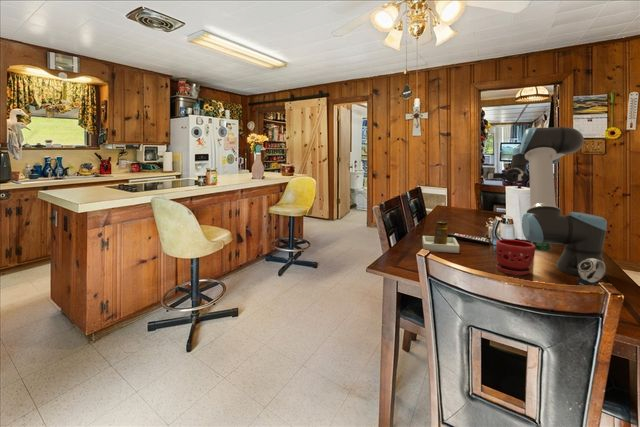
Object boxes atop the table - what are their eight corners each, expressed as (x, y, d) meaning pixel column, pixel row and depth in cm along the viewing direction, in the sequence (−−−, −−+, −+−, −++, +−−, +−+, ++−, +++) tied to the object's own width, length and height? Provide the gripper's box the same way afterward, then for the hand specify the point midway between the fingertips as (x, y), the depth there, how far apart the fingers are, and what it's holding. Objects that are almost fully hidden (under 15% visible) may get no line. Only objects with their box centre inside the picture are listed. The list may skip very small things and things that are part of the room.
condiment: (450, 245, 159) (452, 222, 157) (439, 248, 155) (441, 224, 152) (437, 242, 165) (439, 219, 163) (427, 244, 161) (428, 221, 158)
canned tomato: (543, 246, 160) (546, 225, 158) (553, 251, 153) (556, 229, 151) (527, 246, 161) (529, 225, 159) (536, 251, 153) (538, 229, 151)
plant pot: (538, 278, 119) (542, 247, 117) (500, 276, 122) (504, 246, 119) (523, 266, 132) (526, 238, 130) (489, 264, 134) (491, 237, 132)
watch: (571, 287, 111) (576, 257, 109) (591, 285, 113) (596, 256, 111) (586, 293, 106) (591, 262, 104) (607, 292, 107) (612, 261, 105)
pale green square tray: (458, 253, 150) (459, 246, 149) (423, 250, 154) (424, 243, 154) (454, 244, 165) (454, 237, 165) (422, 242, 169) (422, 235, 169)
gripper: (539, 183, 167) (531, 186, 152) (488, 180, 184) (476, 183, 168) (541, 168, 165) (533, 170, 150) (489, 167, 182) (477, 168, 167)
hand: (503, 177), depth 159 cm, fingers open, 13 cm apart
